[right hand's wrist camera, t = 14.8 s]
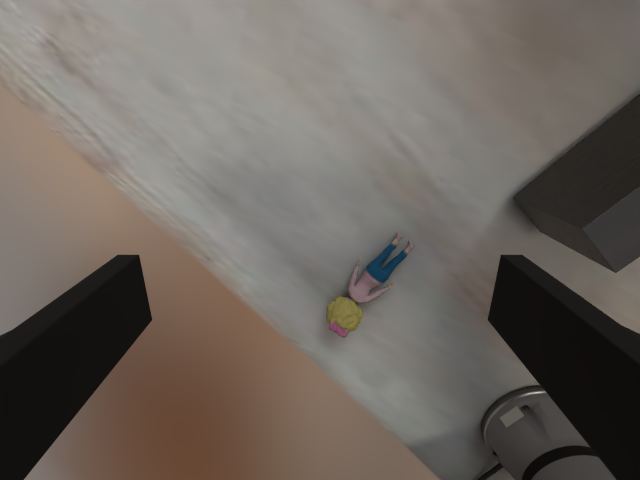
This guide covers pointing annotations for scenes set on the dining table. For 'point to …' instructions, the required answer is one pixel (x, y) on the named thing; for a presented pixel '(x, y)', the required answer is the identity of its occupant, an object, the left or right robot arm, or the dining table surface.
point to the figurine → (363, 290)
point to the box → (594, 193)
